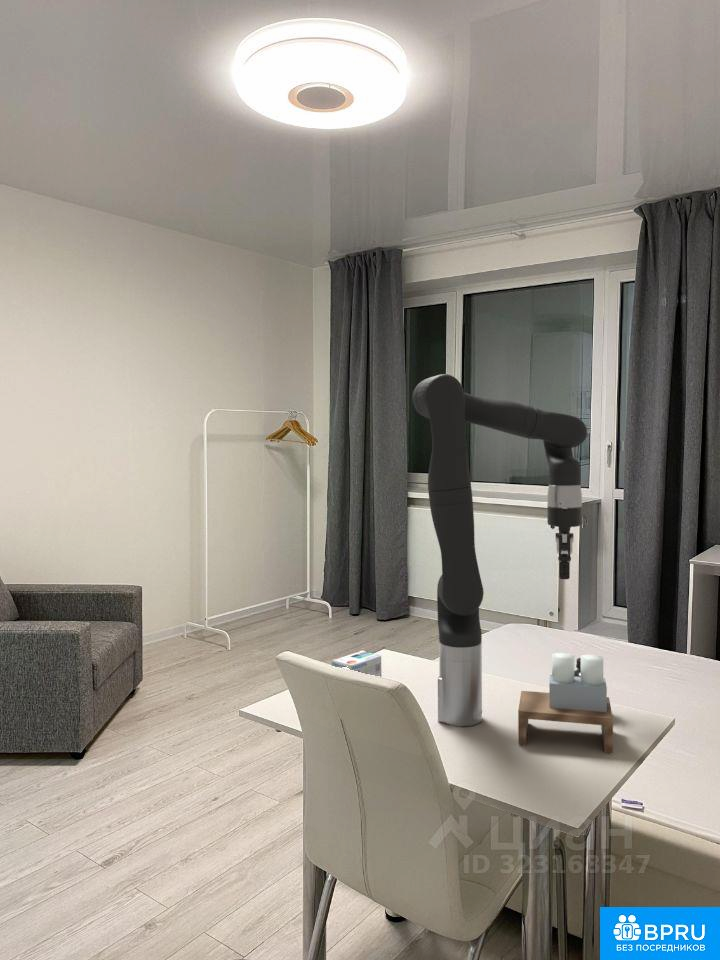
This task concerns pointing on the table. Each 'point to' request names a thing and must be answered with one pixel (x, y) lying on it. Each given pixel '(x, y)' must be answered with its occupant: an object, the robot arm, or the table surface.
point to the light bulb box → (361, 662)
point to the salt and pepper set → (577, 683)
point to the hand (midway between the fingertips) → (564, 575)
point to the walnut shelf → (561, 716)
